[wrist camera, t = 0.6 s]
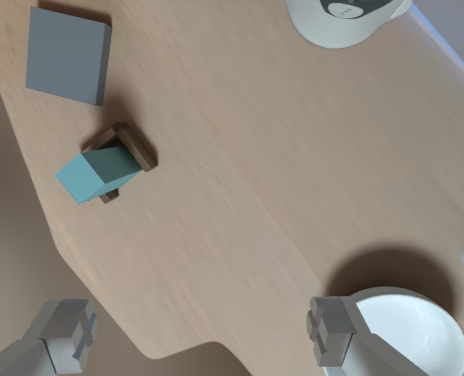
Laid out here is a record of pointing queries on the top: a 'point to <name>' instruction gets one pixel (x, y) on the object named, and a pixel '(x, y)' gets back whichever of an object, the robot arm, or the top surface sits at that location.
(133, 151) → the walnut cubby
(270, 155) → the top surface
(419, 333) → the serving bowl
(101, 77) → the slate tile
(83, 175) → the teal block
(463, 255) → the french press
